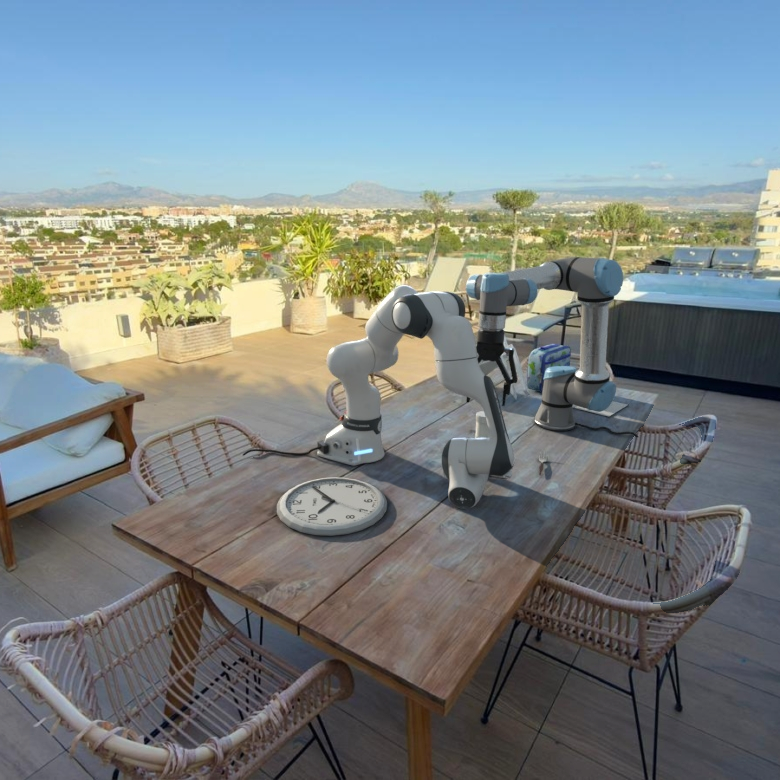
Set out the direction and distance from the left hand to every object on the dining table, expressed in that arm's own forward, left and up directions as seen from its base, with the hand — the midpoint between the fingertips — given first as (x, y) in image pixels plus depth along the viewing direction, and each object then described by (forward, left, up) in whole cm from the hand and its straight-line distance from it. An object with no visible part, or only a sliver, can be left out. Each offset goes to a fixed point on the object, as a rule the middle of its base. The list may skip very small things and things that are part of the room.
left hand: (481, 454), depth 161 cm
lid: (0, 0, +13) cm, 13 cm away
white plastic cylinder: (0, 0, -7) cm, 7 cm away
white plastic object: (-15, +84, -7) cm, 85 cm away
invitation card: (+38, +83, -7) cm, 92 cm away
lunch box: (+14, +102, -7) cm, 104 cm away
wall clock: (-35, -34, -7) cm, 49 cm away
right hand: (0, 0, +17) cm, 17 cm away
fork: (+18, +12, -7) cm, 22 cm away
